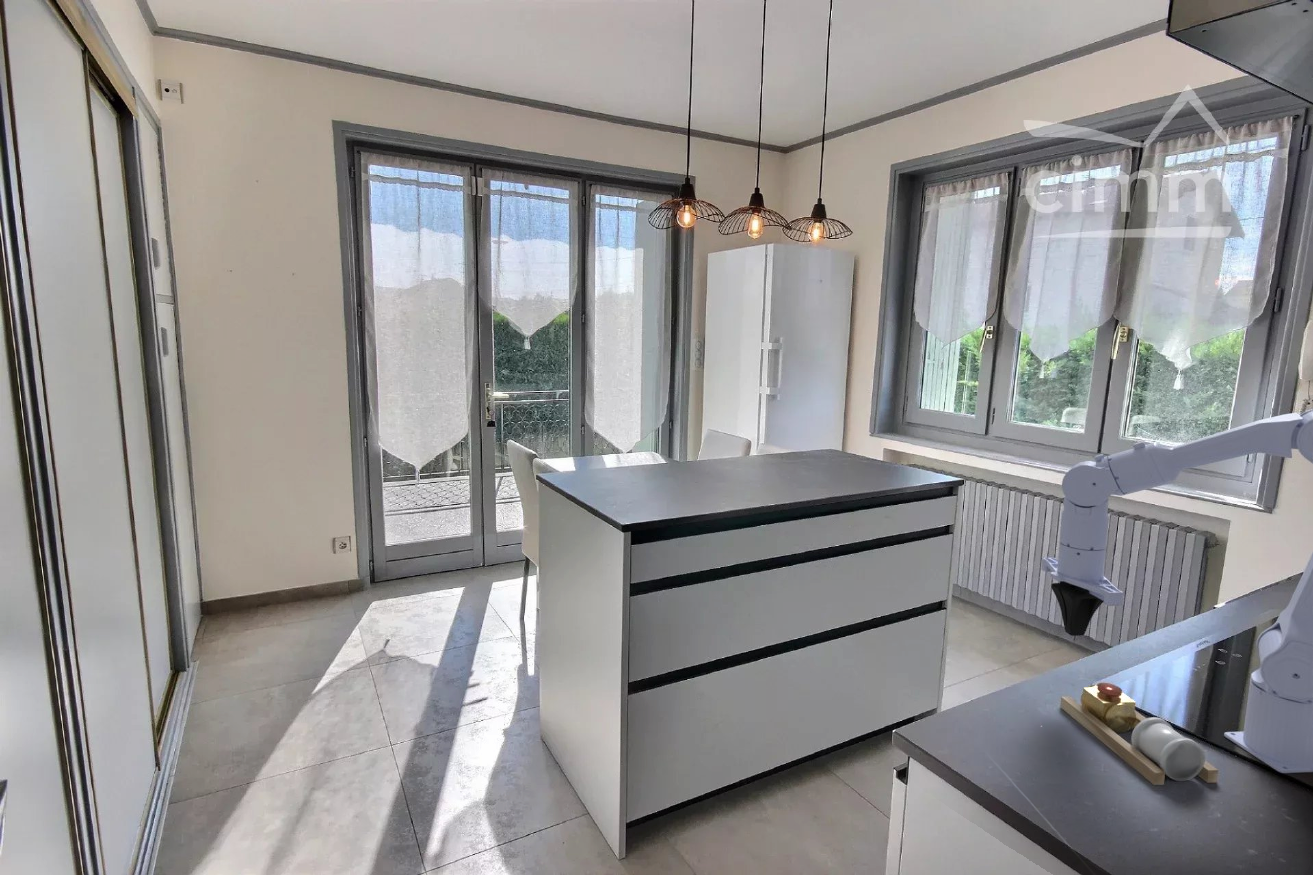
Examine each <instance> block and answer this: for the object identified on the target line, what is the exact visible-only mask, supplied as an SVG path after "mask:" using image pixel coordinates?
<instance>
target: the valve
mask: <svg viewBox="0 0 1313 875" xmlns="http://www.w3.org/2000/svg"><path fill="white" fill-rule="evenodd" d="M1082 688H1083V689H1082V694H1081V696H1080V703H1081V704H1080V705H1081V706H1082V707H1083V708H1085V709H1086V710H1087V711H1088V712H1090V713H1091V714H1092V715H1093V716H1095V717H1096V718H1097V719H1098V720H1100V721H1101V722H1102V723H1103V724H1105V725H1106V726H1107V727H1109V728H1110V729H1111V730H1112V731H1114V732H1115V733H1118V734H1119V733H1120V734H1121V733H1126V732H1127V731H1129V730H1131V731H1132V730H1134V727H1133V725H1134V724H1135V721H1136V713H1135V710H1136V701H1135V700H1134V699H1132V698H1131V697H1129V696H1128V695H1127V694H1125V693H1123V690H1122V688H1121V687H1119V686H1118V685H1115V684H1113V683H1109V682H1099V683H1097V684H1093V685H1089V686H1088V687H1082Z"/></svg>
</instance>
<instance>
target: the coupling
mask: <svg viewBox="0 0 1313 875" xmlns="http://www.w3.org/2000/svg"><path fill="white" fill-rule="evenodd" d="M1146 718H1147V719H1144V720H1143V721H1141V722H1140V723H1138V725H1137V726H1136V727H1135V728H1134V727H1133V729H1132V730H1133V731H1132V733H1131V738H1130V740H1131V746H1132V747H1134V748H1135V749H1136V750H1138V751H1139V752H1140V753H1141V754H1143V755H1144V756H1145V757H1146V758H1148V759H1149V760H1150V761H1151V762H1153V763H1154V764H1155V765H1156V766H1158V767H1159V768H1160V769H1161V770H1163V771H1164V772H1165V776H1167V777H1169V779H1172V780H1173V781H1177V782H1178V781H1179V782H1183V781H1184V782H1185V781H1188V780H1191V779H1193V778H1195V777H1196V776H1198V775H1197V774H1198V773H1199V772H1200V771H1201V770H1202V768H1203V766H1204V763H1205V761H1206V754H1205V751H1204V749H1203V747H1202V745H1200V744H1199V743H1197V742H1196V741H1194V740H1193V739H1191V738H1188V737H1185V736H1184V735H1183V734H1180V733H1179V732H1177V730H1176V729H1175V730H1174V728H1173V726H1172V725H1171V724H1170V723H1169V722H1167V721H1166V720H1164V719H1163V718H1160V717H1155V716H1153V717H1152V716H1151V717H1146Z"/></svg>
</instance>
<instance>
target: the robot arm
mask: <svg viewBox="0 0 1313 875" xmlns="http://www.w3.org/2000/svg"><path fill="white" fill-rule="evenodd" d="M1132 446H1133V448H1131V449H1127V450H1124V451H1120V452H1116V453H1113V454H1110V455H1106V456H1104V454H1103V453H1102V454H1097V455H1095V456H1094V457H1093V458H1094V461H1093V460H1085V461H1080V462H1078V463H1077V464H1075V465H1073V466H1072V467H1071V468H1070V469H1069V470H1068V471H1067V472H1066V473H1065V475H1064V476H1063V478H1062V480H1061V490H1062V492H1063V494H1064V499H1063V502H1062V504H1063V510H1062V511H1061V516H1060V517H1061V518H1060V529H1059V530H1060V531H1059V534H1060V535H1059V542H1058V544H1059V545H1058V546H1059V547H1058V557H1057V558H1056V557H1042V558H1041V559H1042V560H1041V571H1043V572H1047V573H1049V574H1050V575H1049V576H1050V578H1051V579H1053V580H1055V581H1057V582H1053V583H1051V587H1050V588H1051V591H1052V592H1053V593H1054V596H1055V597H1056V600H1057V603H1058V605H1059V609H1060V612H1061V617H1062V618H1061V619H1062V623H1063V627H1064V632H1065V633H1067V634H1068V635H1069V636H1071V637H1073V636H1075V637H1076V636H1077V637H1078V636H1080V637H1081V636H1085V634H1086V632H1087V629H1088V627H1089V624H1090V622H1091V620H1092V619H1093V616H1094V615H1095V613H1096V612H1097V610H1098V609H1099V608H1100V606H1102V604H1104V605H1105V606H1107V607H1120V606H1121V607H1122V606H1123V604H1124V591H1122V590H1120V589H1118V588H1117V587H1116V586H1115V585H1114V584H1113V583H1112V582H1111V581H1110V580H1109V579H1108V578H1107V577H1105V565H1106V557H1107V556H1106V555H1107V545H1108V544H1107V543H1108V542H1107V541H1108V531H1109V522H1110V516H1109V514H1108V512H1109V511H1108V509H1109V500H1110V499H1109V498H1110V496H1111V495H1112V496H1120V497H1122V496H1126V495H1130V494H1134V493H1137V492H1141V491H1145V490H1149V489H1154V488H1158V487H1162V486H1165V485H1169V484H1173V483H1175V482H1176V480H1177V478H1178V476H1179V475H1180V473H1181V472H1182V471H1183V470H1187V469H1192V468H1196V467H1201V466H1205V465H1209V464H1213V463H1218V462H1223V461H1227V460H1231V459H1235V458H1240V457H1243V456H1244V457H1245V456H1248V455H1252V454H1258V453H1259V454H1265V455H1271V456H1276V457H1282V458H1287V459H1292V458H1293V455H1292V454H1293V452H1292V450H1298V452H1299V453H1300V454H1301V456H1302V457H1303V458H1304V459H1306V460H1307V461H1309V462H1310V463H1311V464H1313V408H1311V409H1307V410H1306V411H1304V412H1302V413H1300V414H1299V413H1298V412H1292V413H1286V414H1281V415H1276V416H1272V417H1267V418H1263V419H1258V420H1256V421H1252V422H1249V423H1246V424H1243V425H1240V426H1236V427H1232V428H1230V429H1227V430H1224V431H1220V432H1217V433H1214V434H1211V435H1208V436H1204V437H1201V438H1198V439H1195V440H1191V441H1189V442H1185V443H1182V444H1178V445H1176V446H1169V445H1168V446H1167V445H1165V444H1162V443H1160V442H1156V441H1155V442H1151V443H1148V444H1146V442H1145V440H1142V441H1139V442H1135V443H1133V444H1132ZM1256 649H1257V653H1258V655H1259V659H1260V660H1259V661H1260V667H1258V669H1256V670H1254V671H1253V672H1251V674H1250V680H1249V688H1248V695H1247V704H1246V711H1245V717H1244V726H1243V731H1226V732H1224V734H1223V736H1224V737H1225V738H1227V739H1228V740H1229V741H1231V742H1232V743H1234V744H1236V746H1239V747H1240V748H1241V749H1243V750H1245V751H1246V752H1247V753H1249V754H1250V755H1252V756H1253V757H1255V758H1257V759H1258V760H1260V761H1262V762H1263V763H1265V764H1266V765H1267V766H1269V767H1271V768H1272V769H1274V770H1275V771H1277V772H1279V773H1281V774H1293V773H1294V774H1295V773H1297V774H1298V773H1313V552H1312V553H1311V556H1310V558H1309V560H1308V562H1307V564H1306V566H1305V568H1304V571H1303V573H1302V575H1301V577H1300V579H1299V582H1298V583H1297V586H1296V588H1295V590H1294V592H1293V594H1292V597H1291V599H1290V601H1289V602H1288V604H1287V607H1286V608H1284V609H1283V610H1282V611H1281V612H1280V613H1279V614H1278V618H1277V619H1276V621H1275V623H1274V624H1272V625H1271V626H1270V627H1268V628H1266V629H1265V630H1263V631H1262V632H1261V633H1260V634H1259V635H1258V637H1257V639H1256Z"/></svg>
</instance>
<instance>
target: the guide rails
mask: <svg viewBox="0 0 1313 875" xmlns="http://www.w3.org/2000/svg"><path fill="white" fill-rule="evenodd" d="M1059 707H1060V708H1061V709H1062V711H1063V710H1064V711H1065V712H1066V713H1067V714H1068V715H1069V716H1070V717H1072V718H1073V719H1074V720H1075V721H1077V722H1078V723H1079V725H1081V726H1082V727H1083V728H1085V729H1086V730H1087V731H1088V732H1090V733H1091V734H1092V735H1093V736H1094V737H1096V738H1097V739H1098V740H1099V741H1100V742H1102V744H1104V745H1105V746H1107V748H1109V749H1110V750H1111V751H1113V753H1115V754H1116V755H1117V756H1119V758H1121V759H1122V760H1123V761H1124V762H1126V763H1127V764H1128V765H1129V766H1130V767H1131V768H1133V770H1135V771H1136V772H1138V773H1139V774H1140V775H1141V776H1142V777H1143V778H1145V779H1146V780H1147V781H1148V782H1149V783H1151V784H1152V785H1153V786H1163V785H1165V777H1166V774H1165V772H1164V771H1163V770H1162V769H1161V767H1160V766H1159V765H1157V764H1156V763H1155V762H1154V761H1152V760H1151V759H1150V758H1147V757H1145V756H1144V755H1143V754H1141V753H1140V752H1139V751H1138V750H1136V749H1135V748H1134V747H1133V745H1132V744H1130V743H1129V742H1127V740H1126V739H1123V738H1122V737H1121V736H1120V735H1119V734H1117V732H1114V731H1112V730H1111V729H1110V728H1109V727H1107V726H1106V725H1105V724H1103V723H1102V722H1101V721H1100V720H1098V719H1097V718H1096V717H1095V716H1093V715H1092V714H1091V713H1090V712H1088V711H1087V710H1086V709H1085V708H1083V707H1082V704H1080V703H1078V702H1077V701H1075V699H1073V698H1072V697H1071V696H1070V695H1069V696H1068V695H1067V696H1060V706H1059ZM1135 713H1136V721H1135V724H1134V725H1133V729H1134V728H1135V727H1136V726H1137V725H1138V723H1140V722H1141V721H1143V720H1144V719H1147V718H1148V717H1145V716H1144V715H1142V714H1141V713H1139V712H1138V711H1137V710H1136V709H1135ZM1218 774H1219V769H1218V768H1217V767H1215V766H1214V765H1212V764H1210V763H1209V762H1208V761H1206V760H1205V763H1204V766H1203V768H1202V770H1201V771H1200V772H1199V773H1198V774H1197V775H1196V776H1197V777H1199V778H1200V779H1201V780H1203V781H1204V782H1205V783H1206V784H1209V783H1217V782H1218V778H1219V776H1218Z"/></svg>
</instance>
